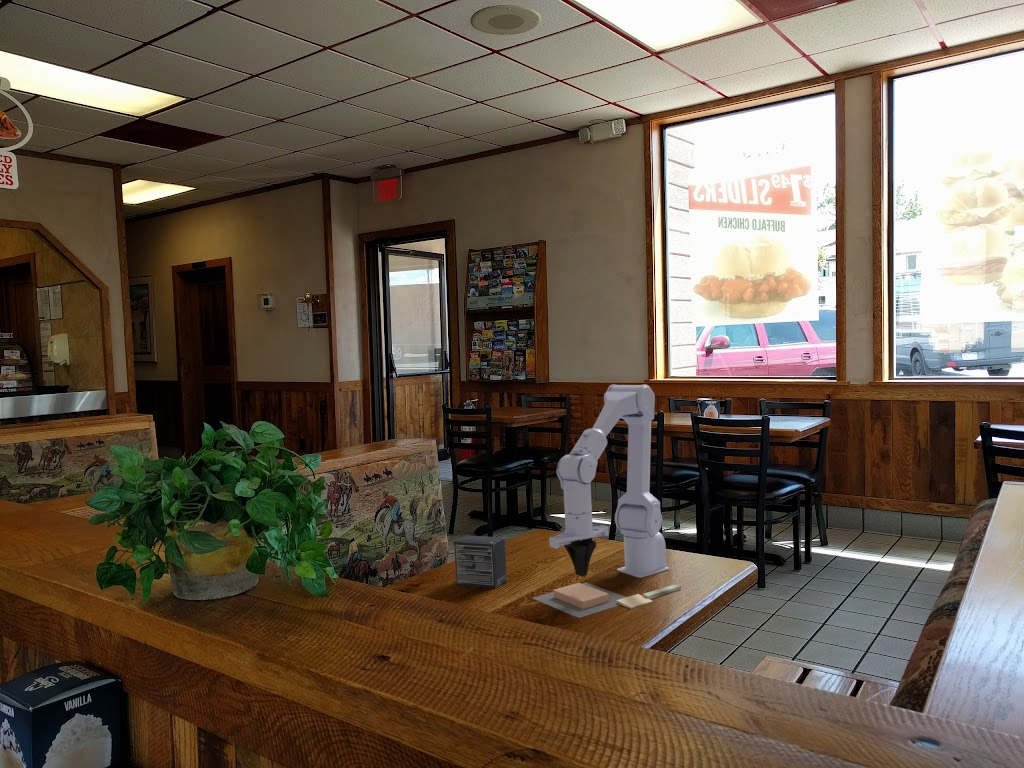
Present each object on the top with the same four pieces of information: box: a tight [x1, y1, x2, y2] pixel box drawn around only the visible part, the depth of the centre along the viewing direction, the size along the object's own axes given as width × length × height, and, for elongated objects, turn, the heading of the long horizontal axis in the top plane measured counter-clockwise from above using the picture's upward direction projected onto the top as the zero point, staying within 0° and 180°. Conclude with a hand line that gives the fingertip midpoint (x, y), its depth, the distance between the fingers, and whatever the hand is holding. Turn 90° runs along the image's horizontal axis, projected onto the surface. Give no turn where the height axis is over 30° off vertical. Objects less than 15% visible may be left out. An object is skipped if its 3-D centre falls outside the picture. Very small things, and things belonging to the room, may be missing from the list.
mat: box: [532, 582, 627, 619], centre depth 166 cm, size 15×16×1 cm
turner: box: [617, 583, 682, 610], centre depth 165 cm, size 16×4×1 cm, turn 124°
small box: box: [453, 535, 508, 589], centre depth 181 cm, size 11×6×10 cm, turn 65°
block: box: [552, 582, 609, 609], centre depth 165 cm, size 2×10×7 cm
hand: (581, 574), depth 165 cm, fingers closed
